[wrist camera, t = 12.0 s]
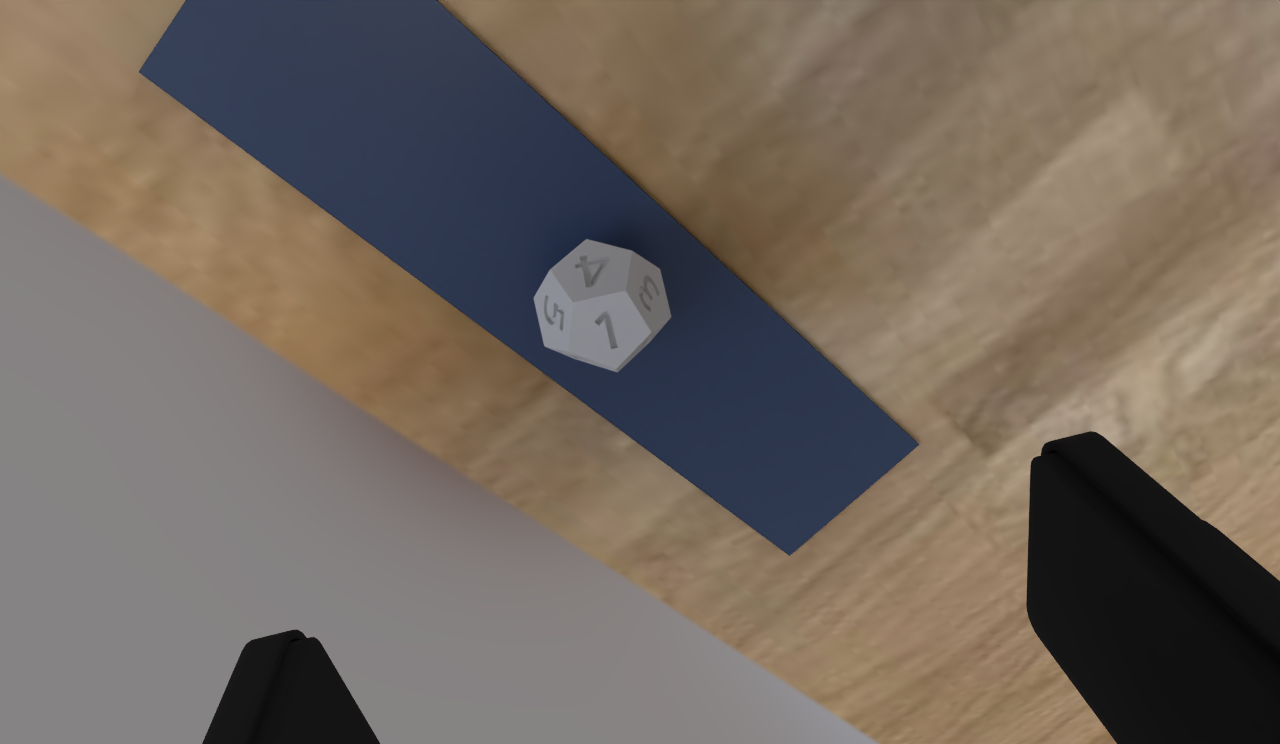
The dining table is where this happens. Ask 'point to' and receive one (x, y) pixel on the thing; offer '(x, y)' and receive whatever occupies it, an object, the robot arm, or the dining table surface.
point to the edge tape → (528, 236)
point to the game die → (601, 305)
